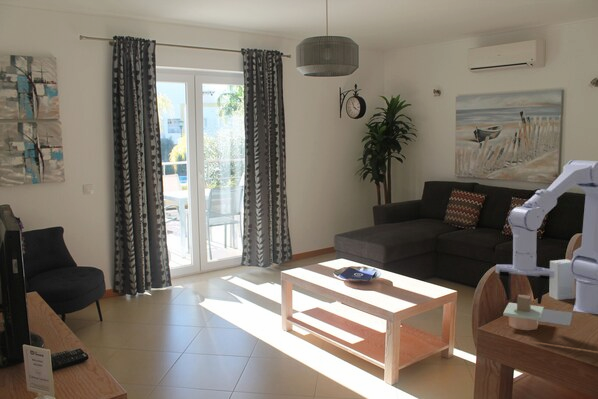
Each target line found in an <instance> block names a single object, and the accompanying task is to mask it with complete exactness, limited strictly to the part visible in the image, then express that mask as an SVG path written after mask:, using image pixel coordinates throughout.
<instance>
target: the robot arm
mask: <svg viewBox="0 0 598 399" xmlns="http://www.w3.org/2000/svg"><path fill="white" fill-rule="evenodd" d="M575 185H576V186H578V187H579V188H581V190H582V191H583V192H584V193H585V198H584V199H585V200H584V211H583V212H584V213H583V223H582V234H581V245H580V247H578V248H577V249H575V250H574V251H573V252H572V258H571V259H570V261H571V263H570V271H571V273H572V274H573V275H574V279H575V301H574V305H573V312H577V313H578V312H579V313H586V314H592V315H593V314H594V315H598V160H578V159H570V160H569V161H568V162H567V163H566V164H564V166H563V168H562V172H561V173H560V174H559V175H558V177H557V178H556V179H555V180H554V181H553V182H552V183H551V184H550V186H549V187H548V188H546V189H544V188H543V189H542V188H541V189H537V190H536V191H535V194H533V195H532V196H531V197H530V198H529V199H528V200H527V201H525V202H524V204H522V205H521V206H516V207H514V208H513V209H512V210H511V211H510V212H509V216H508V217H507V221H508V223H509V225H510V227H511V228H510V230H511V233H512V238H513V239H512V264H499V263H498V264H497V263H496V265H495V266H494V268H495V273H496V274H499V275H498V279H499V280H500V282H501V284H502V286H503V289H504V292H505V296H506V300H507V301H510V300H511V299H512V288H511V286H512V283H511V281H512V275H523V276H533V277H538V279H537V284H538V285H537V286H538V288H537V289H538V293H537V304H539V305H541V304H542V299H543V295H544V291H545V290H546V287H547V285H548V283H550V278H554V277H555V270H554V269H550V268H546V267H539V266H537V234H538V233H537V232H538V231H537V230H538V229H540V227H541V226H542V224H543V221H544V219H545V218H546V215H547V214H548V213H549V212H551V210H552V209H554V207H556V206H557V204H558V198H559V197H561V196H562V195H563V194H565V192H567V191H568V190H569V189H571V188H572V187H574V186H575Z"/></svg>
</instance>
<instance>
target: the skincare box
mask: <svg viewBox="0 0 598 399" xmlns="http://www.w3.org/2000/svg"><path fill="white" fill-rule="evenodd" d="M570 263H571V259H566V258H565V259H558V260H557V259H556V260H549V269H554V270H555V277H554V278H550V279H549V288H548V290H549V292H548V293H549V298H550V297H551V299H552V298H553V299H555V300H556V301H562V300H571V299H575V294H576V279H574V275H573V274H572V273H571V271H570Z"/></svg>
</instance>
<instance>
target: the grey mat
mask: <svg viewBox="0 0 598 399" xmlns="http://www.w3.org/2000/svg"><path fill="white" fill-rule="evenodd" d="M573 314H574V313H573V312H570V311H561V310H554V309H547V308H546V309H545V308H544V310H543V313H542V316H541V319H540V320H538V323H539V322H541V323H547V324H554V325H555V324H556V325H563V326H569V327H570V326H571V323H572V318H573Z"/></svg>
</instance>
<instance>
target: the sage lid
mask: <svg viewBox="0 0 598 399" xmlns="http://www.w3.org/2000/svg"><path fill="white" fill-rule="evenodd" d="M516 299H517V300H516V302H508V304H507V305H506V307H505V309H504V311H503V313H502V314H503V316H505V317H509V316H511V317H518V318H526V319H533V320H540V319H541V316H542V313H543V310H544V309H545V306H541V305H534V304H533V305H532V304H531V302H532V301H531V299H532V298H531V295H527V294H518V295H517V298H516Z"/></svg>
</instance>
